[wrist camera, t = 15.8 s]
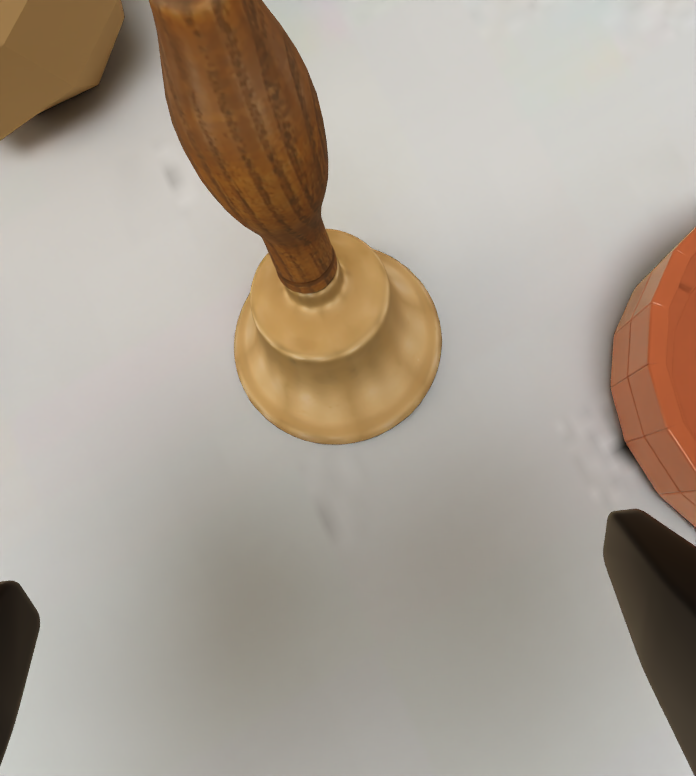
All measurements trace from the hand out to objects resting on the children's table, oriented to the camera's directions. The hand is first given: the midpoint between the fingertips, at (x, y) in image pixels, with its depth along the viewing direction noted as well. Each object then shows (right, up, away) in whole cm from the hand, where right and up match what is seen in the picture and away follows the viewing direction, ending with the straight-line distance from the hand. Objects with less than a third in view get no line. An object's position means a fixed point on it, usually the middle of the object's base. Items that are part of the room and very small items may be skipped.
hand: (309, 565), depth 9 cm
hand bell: (0, +4, +14) cm, 15 cm away
